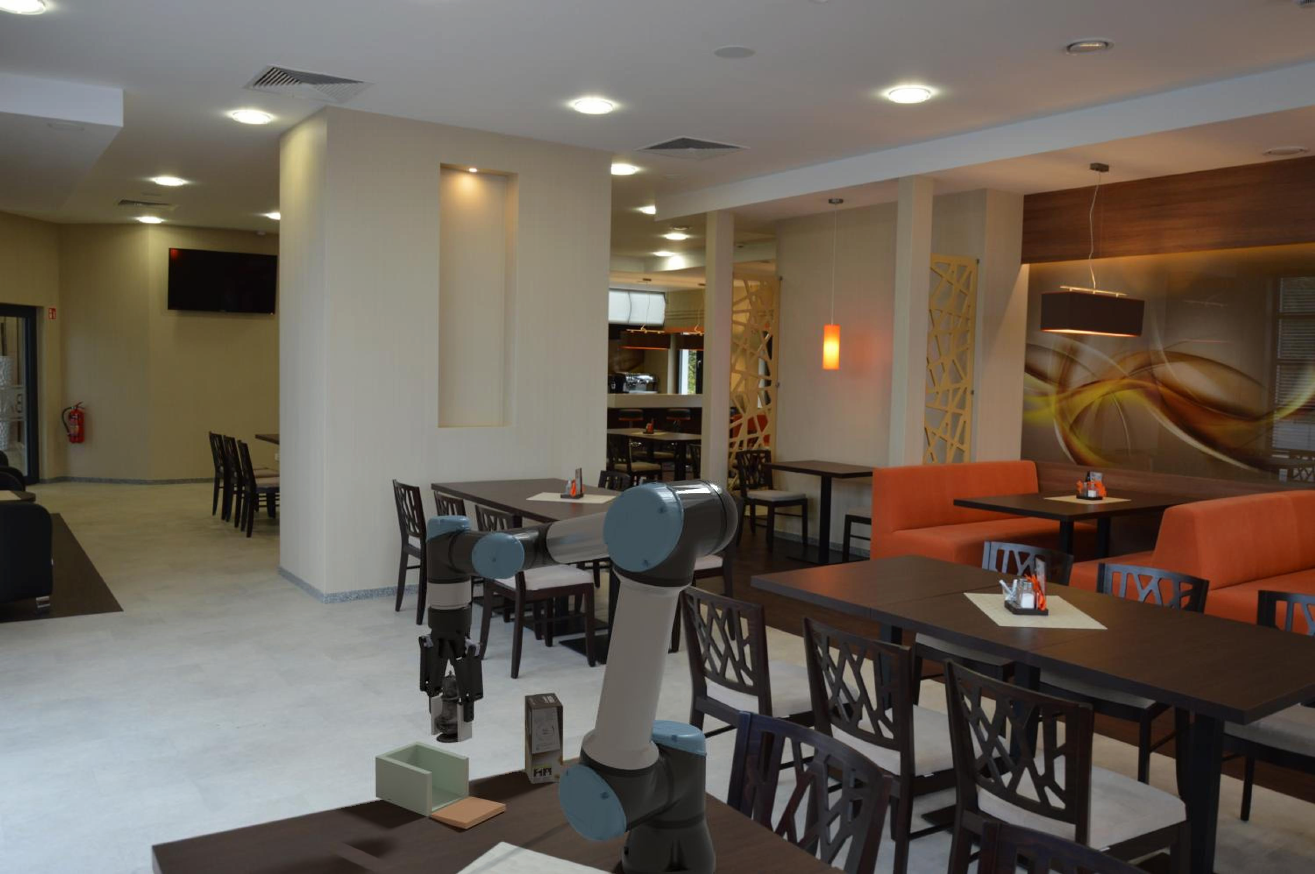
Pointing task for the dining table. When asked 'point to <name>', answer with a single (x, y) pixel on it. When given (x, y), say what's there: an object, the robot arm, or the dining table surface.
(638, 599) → the robot arm
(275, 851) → the dining table surface
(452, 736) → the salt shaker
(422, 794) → the crate
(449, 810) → the flat tan square board
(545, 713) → the coffee box
